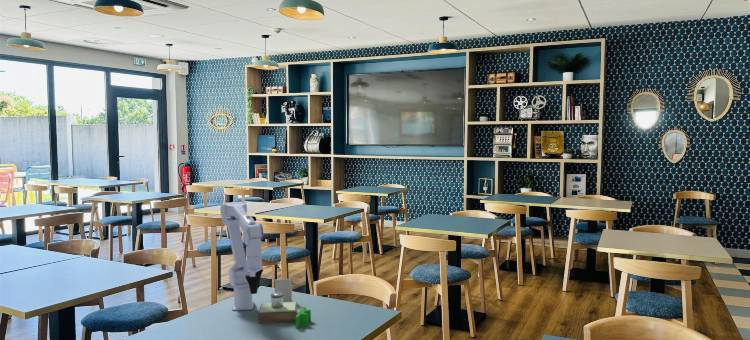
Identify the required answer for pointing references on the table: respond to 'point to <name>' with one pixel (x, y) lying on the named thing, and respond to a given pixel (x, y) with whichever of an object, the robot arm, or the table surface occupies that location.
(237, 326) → the table surface
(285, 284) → the grey rectangular block
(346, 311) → the table surface
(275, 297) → the grey metal cylinder
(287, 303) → the walnut stand
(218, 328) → the table surface
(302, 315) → the pipe clamp
